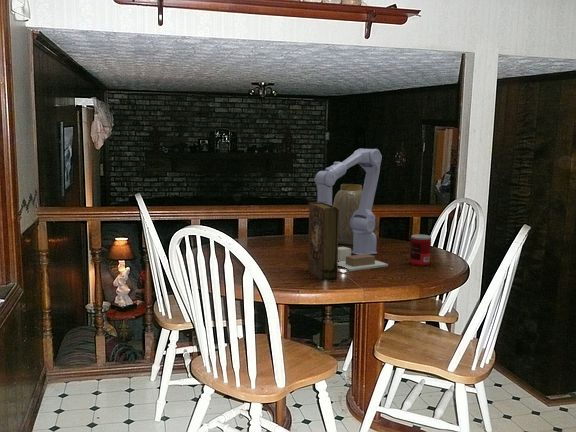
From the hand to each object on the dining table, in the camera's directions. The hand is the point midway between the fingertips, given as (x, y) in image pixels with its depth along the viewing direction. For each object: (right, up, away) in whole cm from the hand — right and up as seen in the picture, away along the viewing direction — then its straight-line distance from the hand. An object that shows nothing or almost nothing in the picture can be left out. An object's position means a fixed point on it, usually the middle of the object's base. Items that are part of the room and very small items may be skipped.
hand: (324, 235), depth 219 cm
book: (-2, -13, -23) cm, 26 cm away
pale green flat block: (+13, -11, -8) cm, 19 cm away
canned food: (+37, -11, -4) cm, 39 cm away
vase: (+15, -5, +39) cm, 42 cm away
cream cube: (+7, -10, +1) cm, 12 cm away
